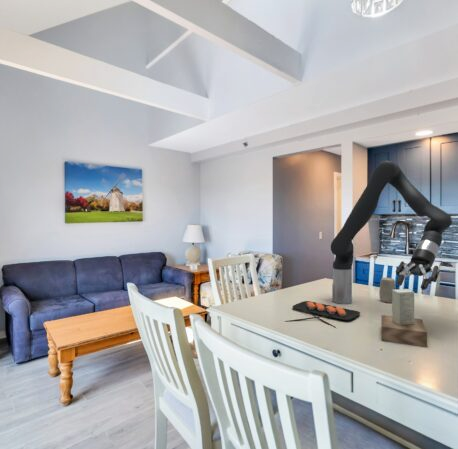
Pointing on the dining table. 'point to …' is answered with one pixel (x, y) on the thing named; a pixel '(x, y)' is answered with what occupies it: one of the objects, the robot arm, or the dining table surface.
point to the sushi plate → (325, 311)
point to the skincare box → (403, 306)
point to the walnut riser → (404, 331)
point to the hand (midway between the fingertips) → (410, 286)
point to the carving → (386, 289)
